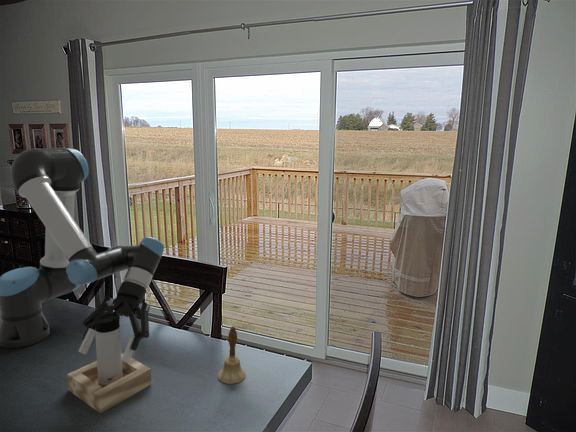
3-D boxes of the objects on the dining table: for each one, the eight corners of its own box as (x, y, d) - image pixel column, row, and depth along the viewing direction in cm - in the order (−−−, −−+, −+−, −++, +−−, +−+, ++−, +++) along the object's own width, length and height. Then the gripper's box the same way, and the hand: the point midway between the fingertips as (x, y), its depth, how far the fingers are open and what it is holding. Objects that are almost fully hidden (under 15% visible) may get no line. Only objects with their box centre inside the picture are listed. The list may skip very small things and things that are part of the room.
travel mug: (114, 390, 110) (111, 322, 106) (93, 386, 111) (88, 319, 107) (128, 377, 116) (125, 312, 112) (107, 374, 117) (104, 309, 113)
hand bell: (250, 371, 124) (251, 323, 121) (238, 387, 116) (238, 336, 113) (225, 365, 127) (226, 318, 123) (212, 380, 119) (212, 330, 116)
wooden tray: (68, 390, 112) (67, 374, 111) (119, 365, 124) (118, 350, 123) (100, 413, 103) (99, 396, 102) (151, 384, 116) (150, 368, 115)
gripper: (177, 296, 121) (149, 368, 110) (105, 285, 127) (72, 353, 116) (167, 285, 115) (137, 361, 103) (92, 275, 121) (56, 345, 109)
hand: (103, 357), depth 109 cm, fingers open, 13 cm apart
